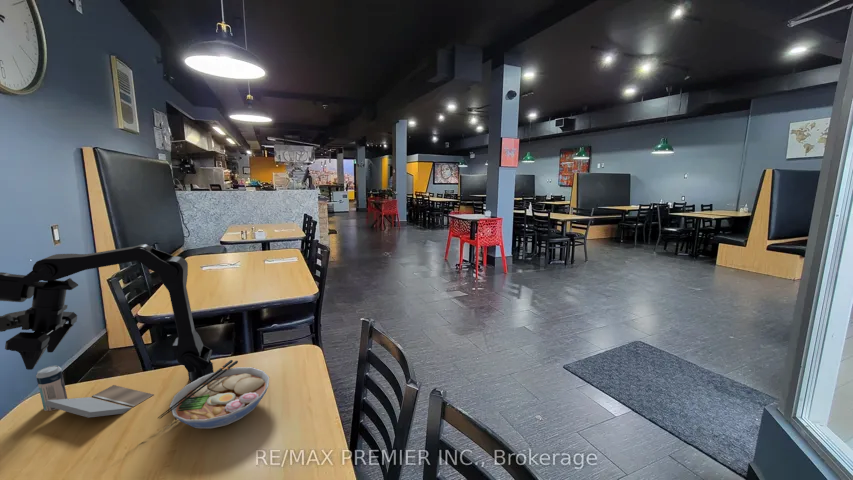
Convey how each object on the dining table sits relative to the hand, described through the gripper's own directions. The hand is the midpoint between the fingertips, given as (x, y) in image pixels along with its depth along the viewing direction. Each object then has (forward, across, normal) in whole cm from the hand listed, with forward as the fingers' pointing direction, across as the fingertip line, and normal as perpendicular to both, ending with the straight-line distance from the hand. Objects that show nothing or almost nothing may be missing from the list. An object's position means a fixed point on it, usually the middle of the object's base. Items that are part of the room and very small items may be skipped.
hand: (40, 360), depth 91 cm
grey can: (+15, -1, +4) cm, 16 cm away
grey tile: (+10, +7, +13) cm, 18 cm away
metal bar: (+11, +1, +19) cm, 22 cm away
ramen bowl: (+5, +20, +45) cm, 50 cm away
